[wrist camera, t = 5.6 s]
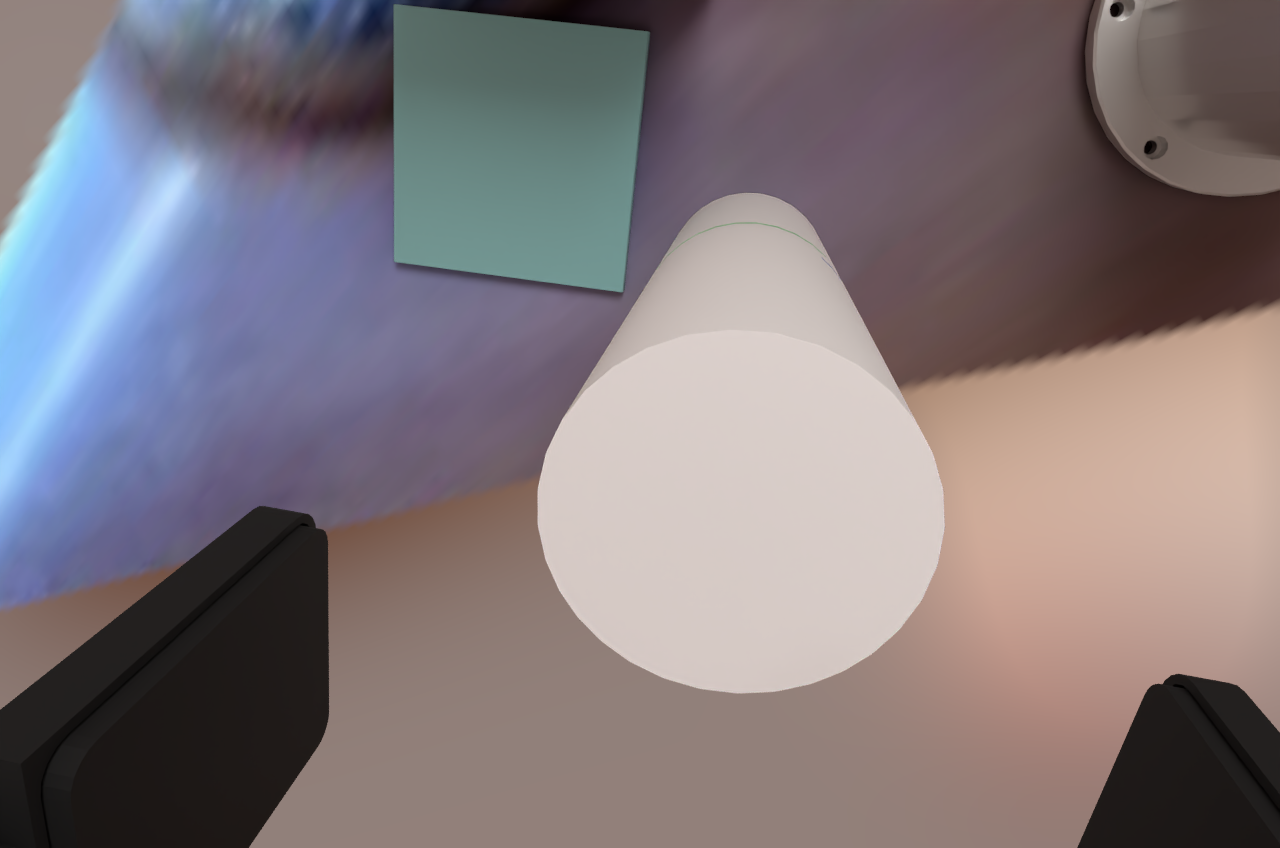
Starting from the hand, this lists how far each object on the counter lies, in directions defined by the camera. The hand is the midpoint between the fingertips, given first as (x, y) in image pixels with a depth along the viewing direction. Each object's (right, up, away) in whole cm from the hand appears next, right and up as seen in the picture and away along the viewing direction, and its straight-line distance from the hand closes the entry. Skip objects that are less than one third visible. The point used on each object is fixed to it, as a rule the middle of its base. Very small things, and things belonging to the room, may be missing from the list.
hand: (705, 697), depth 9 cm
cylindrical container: (+4, +10, +29) cm, 31 cm away
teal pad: (-6, +15, +28) cm, 32 cm away
